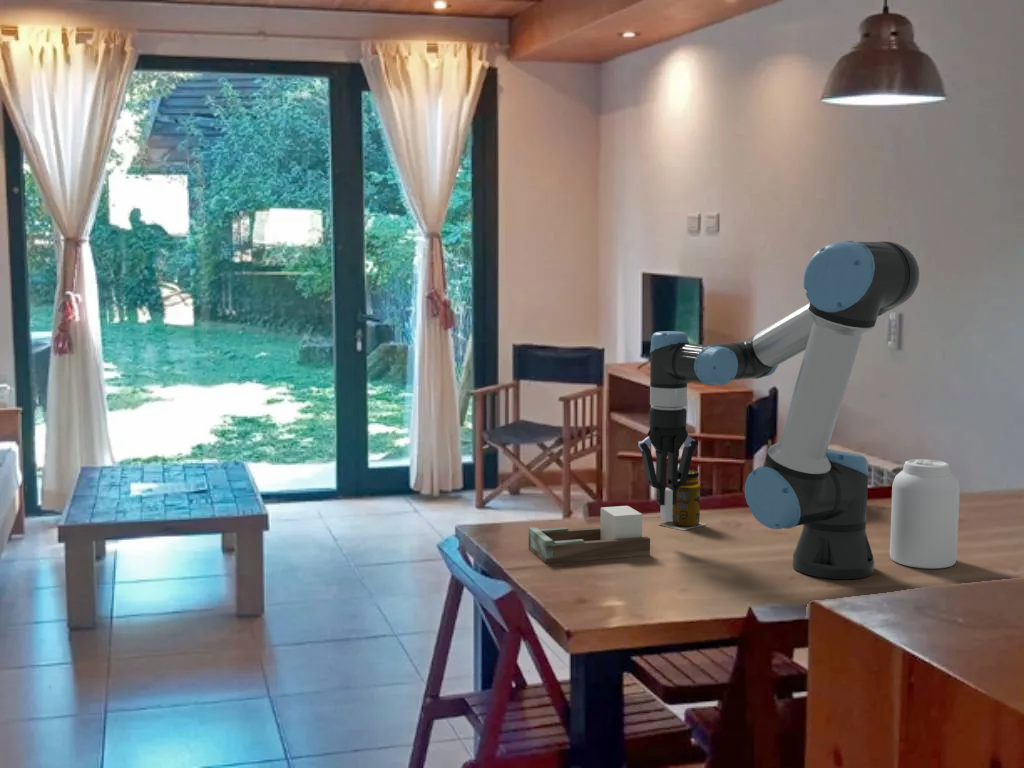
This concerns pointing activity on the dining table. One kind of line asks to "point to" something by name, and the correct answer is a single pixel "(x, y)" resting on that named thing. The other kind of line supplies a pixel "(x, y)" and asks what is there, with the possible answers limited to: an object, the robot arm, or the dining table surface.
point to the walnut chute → (582, 545)
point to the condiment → (687, 505)
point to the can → (924, 515)
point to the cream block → (620, 523)
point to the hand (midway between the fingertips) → (666, 519)
